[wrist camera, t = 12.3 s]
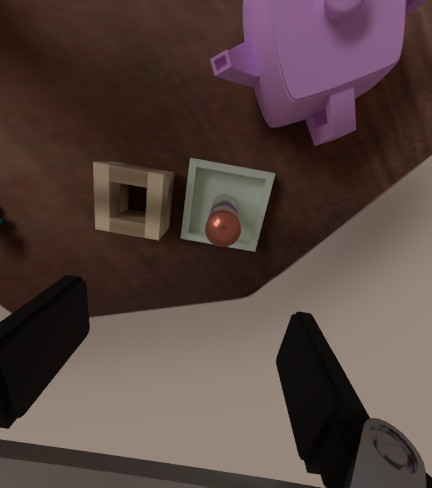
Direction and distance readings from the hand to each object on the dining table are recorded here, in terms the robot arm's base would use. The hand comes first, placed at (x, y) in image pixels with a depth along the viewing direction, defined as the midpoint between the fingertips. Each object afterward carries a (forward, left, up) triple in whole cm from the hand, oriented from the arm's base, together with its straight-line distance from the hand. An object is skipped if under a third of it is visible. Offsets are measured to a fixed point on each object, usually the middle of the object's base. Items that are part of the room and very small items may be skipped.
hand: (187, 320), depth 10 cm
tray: (0, +1, -26) cm, 26 cm away
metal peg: (0, +1, -26) cm, 26 cm away
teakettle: (-20, +6, -27) cm, 34 cm away
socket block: (+1, -12, -26) cm, 29 cm away
